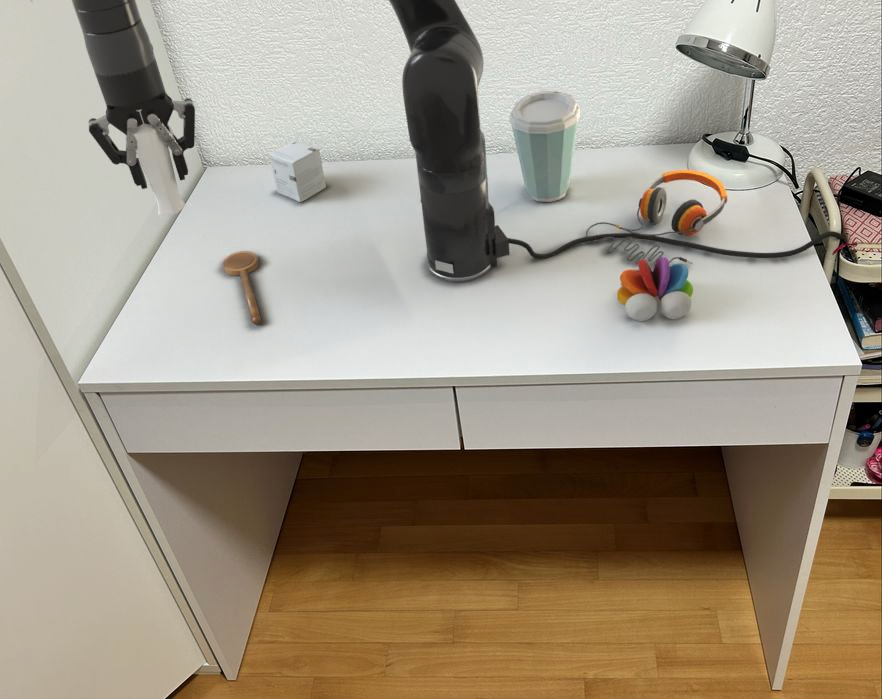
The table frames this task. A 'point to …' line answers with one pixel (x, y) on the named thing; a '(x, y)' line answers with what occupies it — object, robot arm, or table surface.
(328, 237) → the table surface
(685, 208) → the headphones
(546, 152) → the disposable coffee cup
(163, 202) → the perfume bottle
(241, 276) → the wooden spoon
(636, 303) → the rainbow petal fan toy
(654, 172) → the table surface
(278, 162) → the product carton
